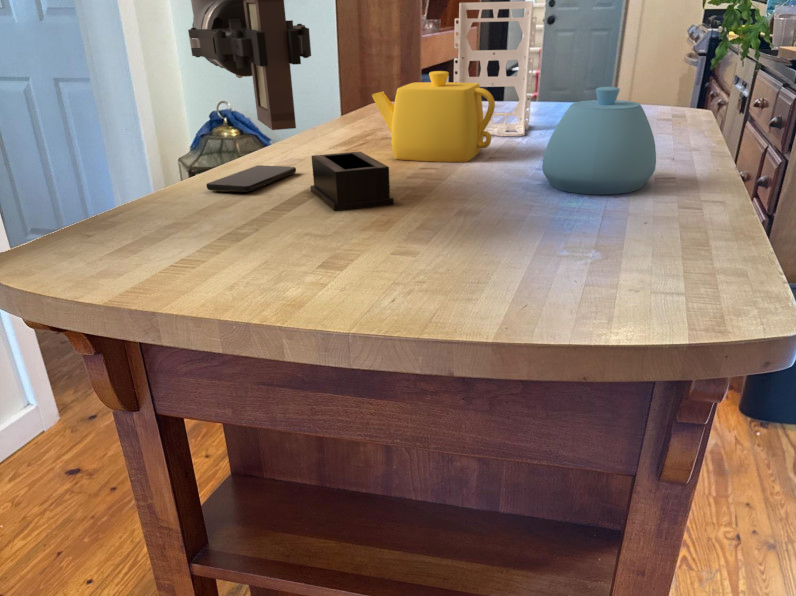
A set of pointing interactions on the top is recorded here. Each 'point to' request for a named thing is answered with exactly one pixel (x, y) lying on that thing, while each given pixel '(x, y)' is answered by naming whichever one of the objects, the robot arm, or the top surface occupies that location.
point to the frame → (272, 65)
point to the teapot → (437, 119)
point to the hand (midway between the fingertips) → (279, 48)
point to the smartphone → (250, 178)
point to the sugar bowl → (601, 147)
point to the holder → (350, 181)
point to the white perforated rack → (502, 55)
